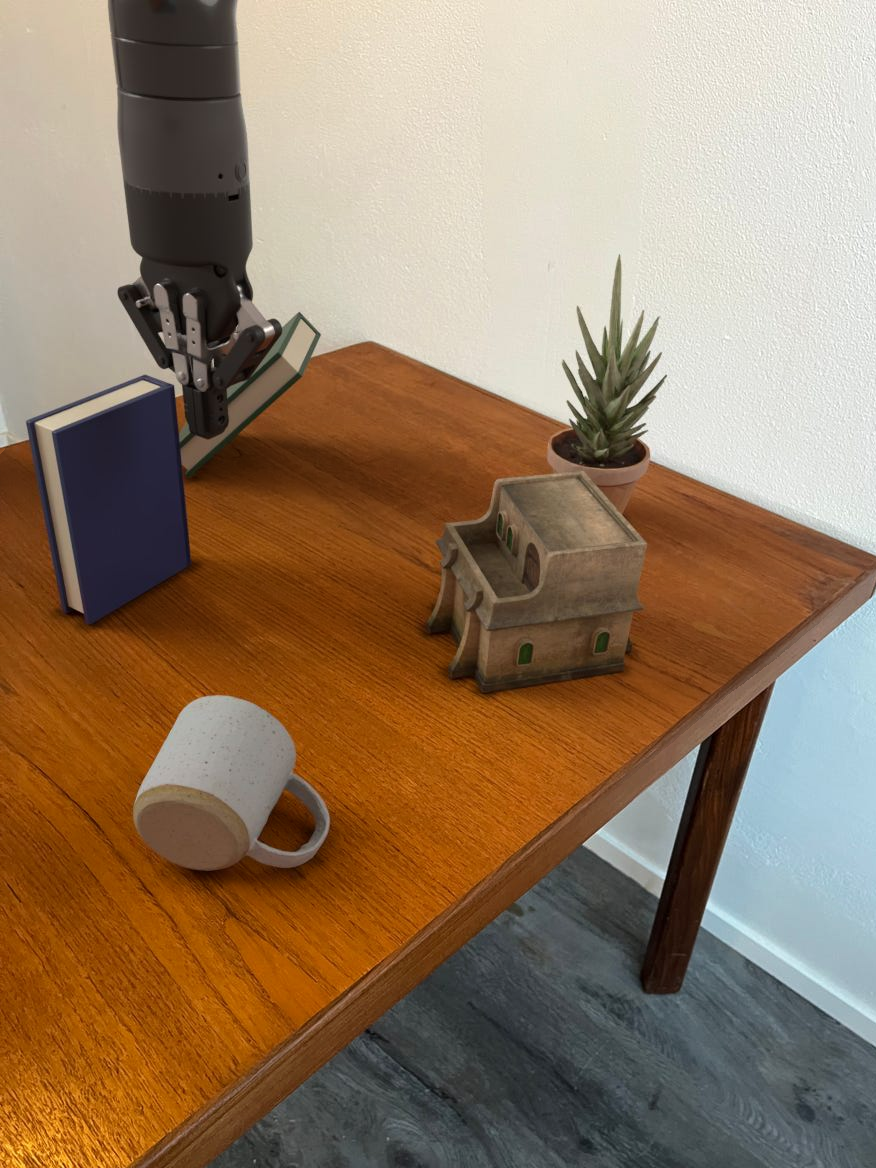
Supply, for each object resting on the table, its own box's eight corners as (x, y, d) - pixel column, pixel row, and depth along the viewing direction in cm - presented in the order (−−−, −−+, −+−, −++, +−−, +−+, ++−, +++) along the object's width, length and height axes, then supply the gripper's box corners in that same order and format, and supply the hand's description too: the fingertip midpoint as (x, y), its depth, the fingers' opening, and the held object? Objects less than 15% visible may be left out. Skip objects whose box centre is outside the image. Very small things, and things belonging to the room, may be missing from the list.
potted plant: (560, 483, 103) (596, 231, 88) (649, 508, 100) (701, 252, 85) (522, 524, 95) (554, 256, 81) (617, 553, 92) (667, 280, 78)
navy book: (174, 384, 76) (145, 374, 77) (56, 433, 68) (25, 420, 69) (191, 564, 85) (165, 552, 86) (89, 625, 77) (62, 611, 78)
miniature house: (573, 574, 89) (592, 456, 82) (645, 671, 78) (673, 544, 72) (409, 595, 84) (415, 471, 77) (462, 700, 74) (473, 568, 67)
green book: (321, 334, 100) (299, 311, 98) (302, 376, 91) (277, 351, 89) (215, 430, 106) (193, 410, 105) (188, 478, 97) (163, 457, 96)
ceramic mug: (131, 868, 59) (115, 774, 54) (184, 773, 65) (174, 681, 61) (307, 901, 58) (306, 808, 54) (344, 801, 65) (346, 710, 60)
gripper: (61, 160, 62) (101, 424, 72) (225, 204, 57) (243, 480, 67) (153, 145, 67) (178, 392, 77) (310, 184, 62) (314, 443, 72)
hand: (208, 433), depth 72 cm, fingers closed
